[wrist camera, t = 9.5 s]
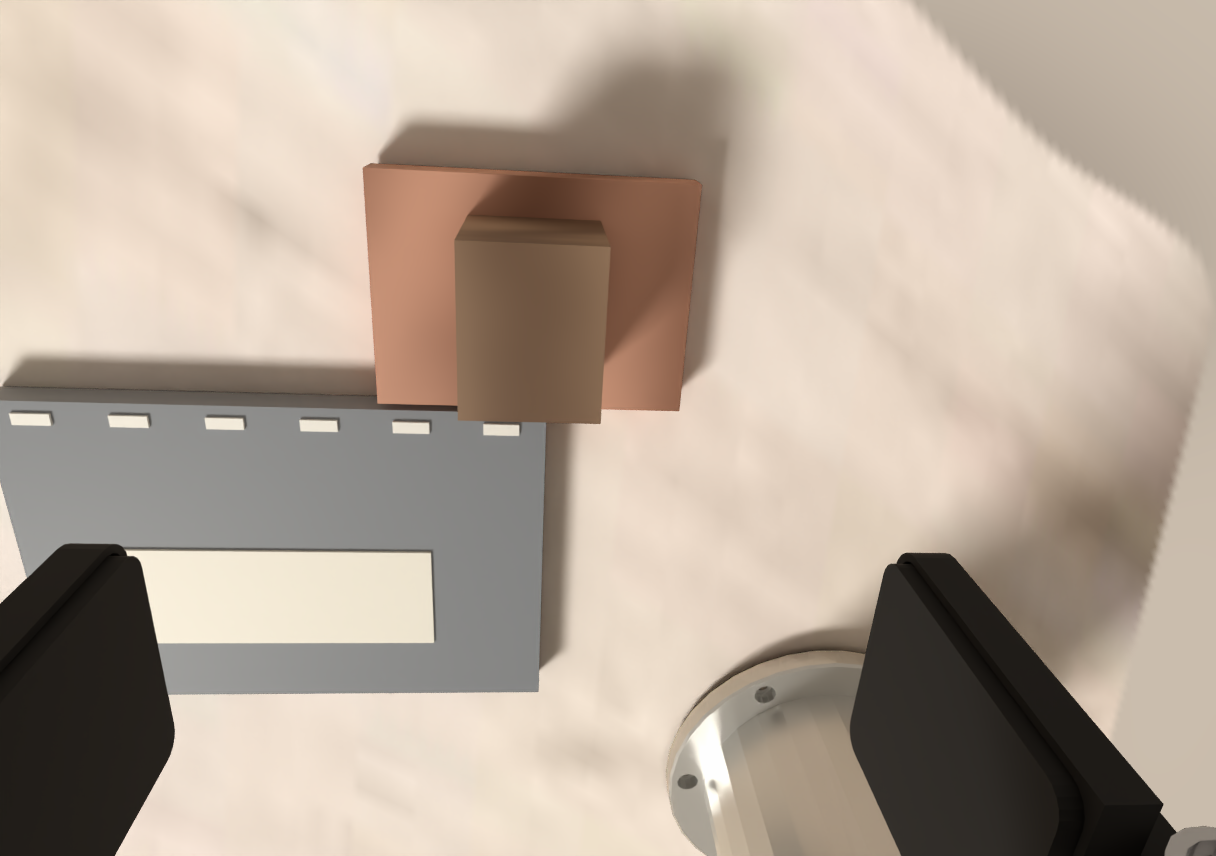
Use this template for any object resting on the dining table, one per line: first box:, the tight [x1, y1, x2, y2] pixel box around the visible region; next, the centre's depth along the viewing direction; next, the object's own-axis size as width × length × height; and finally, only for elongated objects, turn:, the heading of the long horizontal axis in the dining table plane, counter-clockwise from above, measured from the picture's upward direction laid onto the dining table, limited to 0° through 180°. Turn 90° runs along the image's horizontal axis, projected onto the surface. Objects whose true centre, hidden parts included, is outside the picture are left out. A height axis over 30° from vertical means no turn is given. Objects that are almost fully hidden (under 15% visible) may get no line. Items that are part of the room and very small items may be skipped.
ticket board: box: [0, 387, 546, 695], centre depth 29 cm, size 18×12×1 cm, turn 87°
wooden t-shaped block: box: [363, 163, 702, 424], centre depth 24 cm, size 10×7×5 cm
